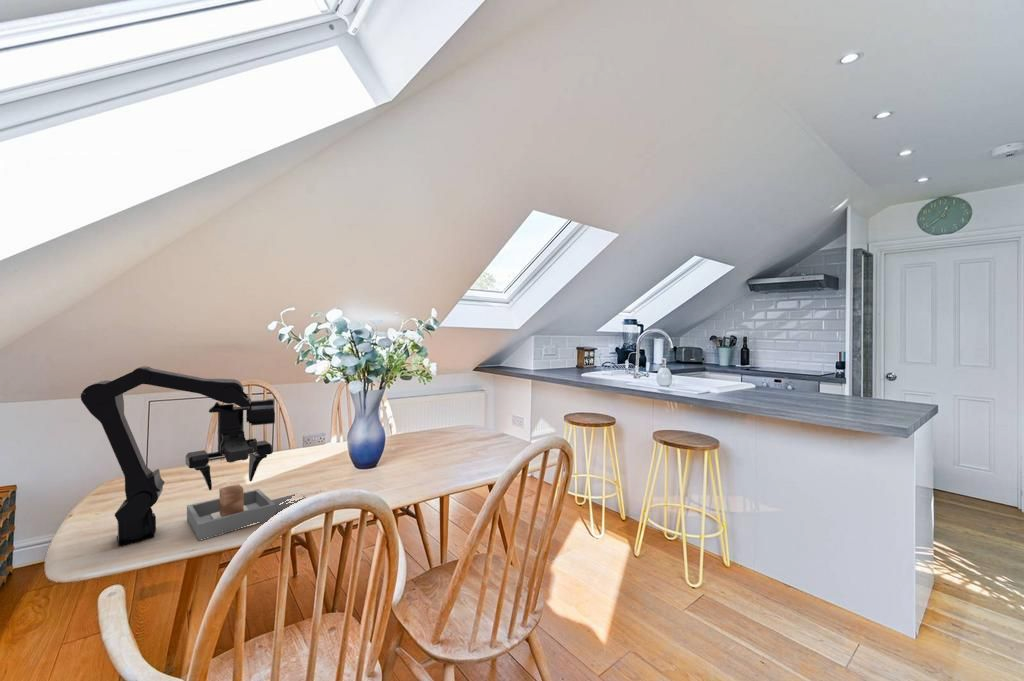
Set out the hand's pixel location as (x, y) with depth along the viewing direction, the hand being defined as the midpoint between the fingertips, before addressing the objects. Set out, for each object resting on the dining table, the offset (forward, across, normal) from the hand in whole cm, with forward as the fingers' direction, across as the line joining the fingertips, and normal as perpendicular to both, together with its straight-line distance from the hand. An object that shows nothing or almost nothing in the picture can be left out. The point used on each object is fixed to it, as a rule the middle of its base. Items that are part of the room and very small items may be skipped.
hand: (230, 485), depth 114 cm
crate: (+9, 0, 0) cm, 9 cm away
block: (+8, 0, 0) cm, 8 cm away
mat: (+9, +14, 0) cm, 17 cm away
